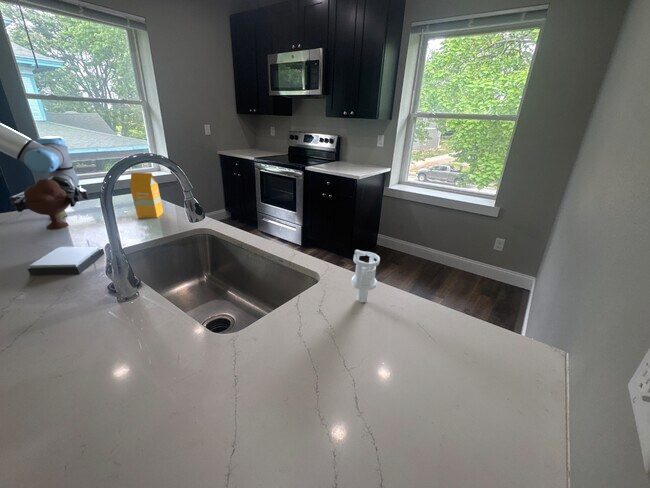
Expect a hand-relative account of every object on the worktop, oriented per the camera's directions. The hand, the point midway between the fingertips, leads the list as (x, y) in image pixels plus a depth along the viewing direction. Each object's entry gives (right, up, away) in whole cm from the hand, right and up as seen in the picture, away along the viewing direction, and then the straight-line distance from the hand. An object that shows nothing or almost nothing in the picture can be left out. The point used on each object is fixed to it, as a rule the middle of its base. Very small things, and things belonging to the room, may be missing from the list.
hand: (45, 204), depth 87 cm
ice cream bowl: (-2, -6, +7) cm, 9 cm away
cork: (-40, +1, +49) cm, 64 cm away
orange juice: (-2, +2, +55) cm, 55 cm away
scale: (-3, -18, +11) cm, 21 cm away
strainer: (+93, -28, -1) cm, 97 cm away
